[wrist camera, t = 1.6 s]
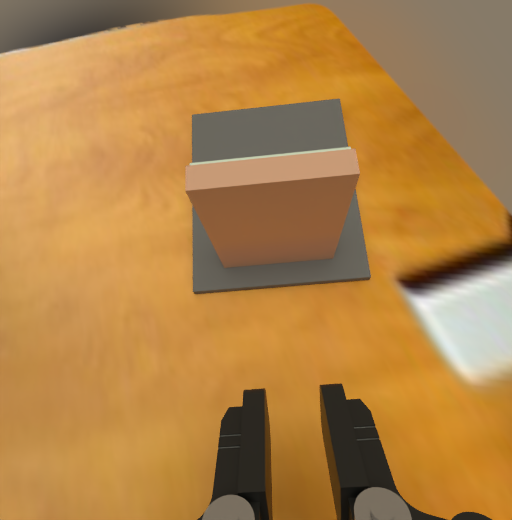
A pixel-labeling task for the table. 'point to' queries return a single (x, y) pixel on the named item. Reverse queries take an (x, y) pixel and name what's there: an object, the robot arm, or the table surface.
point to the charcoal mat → (270, 143)
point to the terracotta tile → (274, 204)
